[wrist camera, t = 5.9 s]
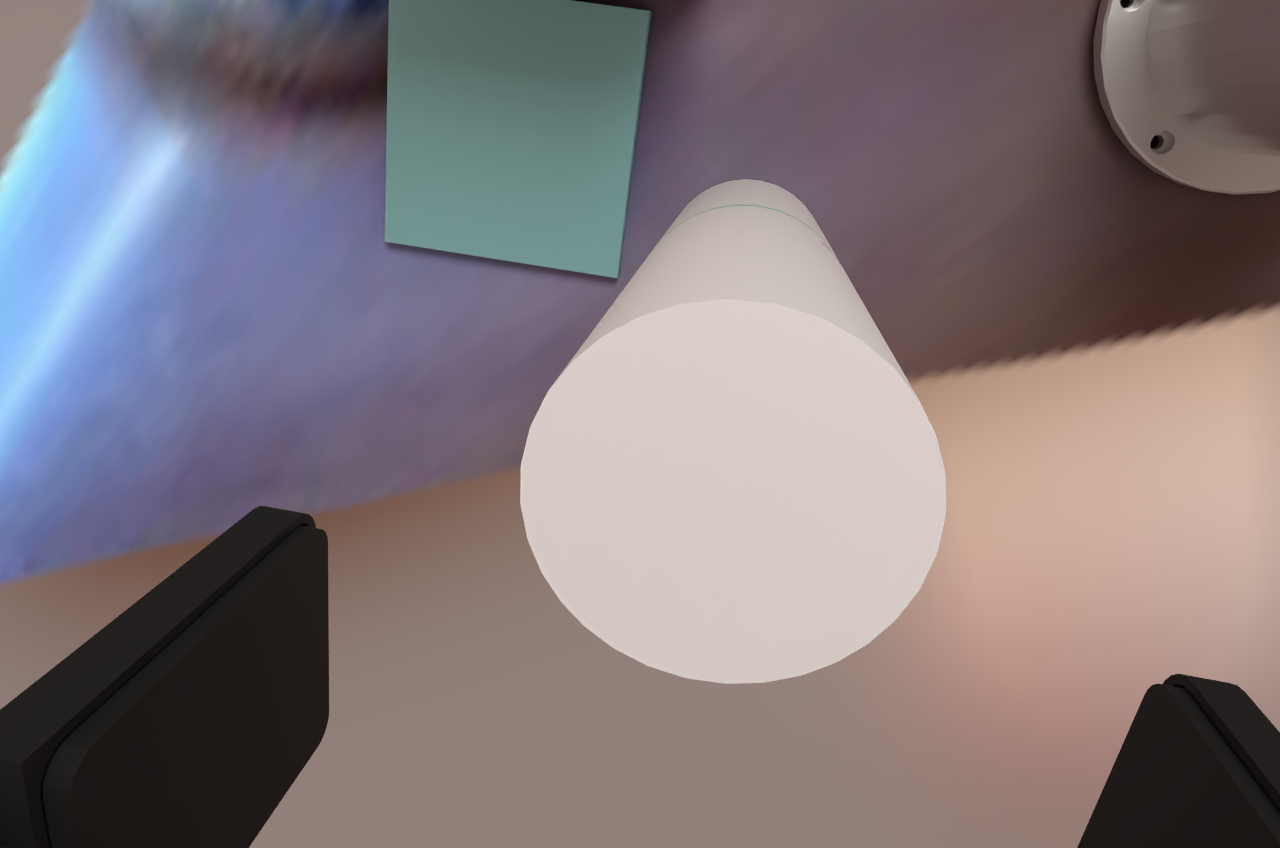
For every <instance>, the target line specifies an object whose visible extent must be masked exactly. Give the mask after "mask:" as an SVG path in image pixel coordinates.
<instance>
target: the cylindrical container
mask: <svg viewBox="0 0 1280 848" xmlns="http://www.w3.org/2000/svg"><path fill="white" fill-rule="evenodd" d="M520 488H521V489H520V505H521V510H522V514H523V519H524V524H525V529H526V534H527V539H528V542H529V544H530V547H531V549H532V551H533V554H534V556H535V558H536V561H537V563H538V565H539V567H540V570H541V572H542V574H543V576H544V577H545V579H546V580H547V581H548V583H549V585H550V586H551V588H552V589H553V591H554V592H555V594H556V595H557V597H558V598H559V600H560V601H561V602H562V603H563V604H564V605H565V607H566V608H567V609H568V610H569V611H570V612H571V613H572V614H573V615H574V616H575V617H576V618H577V619H578V620H579V621H580V622H581V623H582V625H583V626H585V627H586V628H587V629H589V630H590V631H591V632H592V633H594V634H595V635H597V636H598V637H599V638H600V639H602V640H603V641H604V642H606V643H607V644H608V645H610V646H611V647H612V648H614V649H616V650H618V651H619V652H621V653H623V654H625V655H627V656H629V657H631V658H633V659H635V660H637V661H639V662H641V663H643V664H645V665H647V666H649V667H653V668H655V669H659V670H662V671H665V672H668V673H671V674H674V675H677V676H680V677H684V678H688V679H695V680H703V681H711V682H717V683H724V684H733V683H765V682H771V681H776V680H780V679H786V678H791V677H796V676H800V675H804V674H807V673H810V672H812V671H815V670H818V669H820V668H823V667H826V666H828V665H831V664H834V663H836V662H838V661H840V660H841V659H843V658H845V657H847V656H848V655H850V654H851V653H853V652H855V651H857V650H859V649H860V648H862V647H864V646H865V645H867V644H868V643H870V642H871V641H872V640H873V639H874V638H875V637H877V636H878V635H879V634H880V633H881V632H882V631H884V630H885V629H886V628H887V627H888V626H890V625H891V624H892V623H893V622H894V621H895V620H896V619H897V618H898V617H899V615H900V614H901V613H902V611H903V610H904V609H905V608H906V607H907V605H908V604H909V603H910V602H911V600H912V599H913V598H914V596H915V595H916V594H917V593H918V591H919V590H920V588H921V586H922V584H923V582H924V580H925V578H926V576H927V574H928V572H929V570H930V568H931V565H932V564H933V561H934V559H935V557H936V555H937V553H938V548H939V544H940V539H941V535H942V531H943V526H944V522H945V517H946V473H945V469H944V465H943V461H942V457H941V453H940V449H939V444H938V441H937V437H936V434H935V432H934V430H933V427H932V425H931V423H930V422H929V420H928V417H927V415H926V413H925V411H924V409H923V407H922V405H921V403H920V401H919V399H918V397H917V396H916V394H915V392H914V391H913V389H912V387H911V385H910V384H909V382H908V380H907V378H906V377H905V375H904V373H903V371H902V370H901V368H900V366H899V365H898V363H897V361H896V359H895V358H894V356H893V354H892V352H891V351H890V349H889V347H888V345H887V344H886V342H885V340H884V339H883V337H882V335H881V333H880V332H879V330H878V328H877V326H876V325H875V323H874V321H873V319H872V318H871V316H870V314H869V313H868V311H867V309H866V307H865V306H864V304H863V302H862V300H861V299H860V297H859V295H858V293H857V292H856V290H855V288H854V287H853V285H852V283H851V281H850V280H849V278H848V276H847V274H846V273H845V271H844V269H843V268H842V266H841V264H840V262H839V261H838V259H837V257H836V255H835V254H834V252H833V250H832V248H831V247H830V245H829V243H828V242H827V240H826V238H825V236H824V235H823V233H822V231H821V229H820V228H819V226H818V224H817V222H816V221H815V219H814V217H813V216H812V214H811V213H810V212H809V210H808V209H807V208H806V206H805V205H804V204H803V203H802V202H801V201H800V200H799V199H797V198H796V197H795V196H794V195H793V194H792V193H790V192H788V191H786V190H784V189H783V188H781V187H779V186H777V185H774V184H771V183H768V182H764V181H761V180H748V179H741V180H734V181H727V182H724V183H721V184H718V185H715V186H712V187H711V188H709V189H707V190H705V191H704V192H702V193H700V194H699V195H698V196H696V197H695V198H694V199H693V200H692V201H690V202H689V203H688V204H687V205H686V207H685V208H684V209H683V210H682V212H681V213H680V214H679V215H678V217H677V218H676V219H675V221H674V222H673V223H672V225H671V226H670V227H669V229H668V230H667V231H666V233H665V234H664V235H663V237H662V238H661V239H660V241H659V242H658V243H657V245H656V246H655V247H654V249H653V250H652V251H651V253H650V254H649V255H648V257H647V258H646V260H645V261H644V262H643V264H642V265H641V266H640V268H639V269H638V270H637V272H636V273H635V274H634V276H633V277H632V278H631V280H630V281H629V283H628V284H627V285H626V287H625V288H624V289H623V291H622V292H621V293H620V295H619V296H618V297H617V299H616V300H615V301H614V303H613V304H612V306H611V307H610V308H609V310H608V311H607V312H606V314H605V315H604V316H603V318H602V319H601V320H600V322H599V323H598V324H597V326H596V327H595V329H594V330H593V331H592V333H591V334H590V335H589V337H588V338H587V339H586V341H585V342H584V343H583V345H582V346H581V347H580V349H579V350H578V352H577V353H576V354H575V356H574V357H573V358H572V360H571V361H570V362H569V364H568V365H567V366H566V368H565V369H564V370H563V372H562V373H561V375H560V376H559V377H558V379H557V380H556V381H555V383H554V384H553V385H552V387H551V388H550V389H549V391H548V392H547V394H546V396H545V398H544V400H543V402H542V404H541V406H540V408H539V410H538V412H537V414H536V416H535V418H534V420H533V422H532V424H531V426H530V430H529V434H528V438H527V442H526V446H525V450H524V454H523V458H522V462H521V486H520Z"/></svg>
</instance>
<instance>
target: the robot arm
mask: <svg viewBox="0 0 1280 848" xmlns="http://www.w3.org/2000/svg"><path fill="white" fill-rule="evenodd" d="M1093 52H1094V77H1095V81H1096V85H1097V90H1098V94H1099V99H1100V103H1101V106H1102V108H1103V110H1104V112H1105V114H1106V117H1107V119H1108V121H1109V123H1110V125H1111V127H1112V129H1113V131H1114V133H1115V134H1116V135H1117V136H1118V138H1119V139H1120V140H1121V142H1122V143H1123V144H1124V145H1125V147H1126V148H1127V149H1128V151H1129V152H1130V153H1131V154H1132V155H1133V156H1135V157H1136V158H1137V159H1138V160H1140V161H1141V162H1142V163H1143V164H1144V165H1146V166H1147V167H1148V168H1149V169H1151V170H1152V171H1153V172H1155V173H1157V174H1159V175H1161V176H1164V177H1166V178H1168V179H1170V180H1172V181H1174V182H1176V183H1178V184H1181V185H1185V186H1189V187H1193V188H1197V189H1201V190H1205V191H1210V192H1219V193H1227V194H1234V195H1237V194H1259V193H1271V192H1275V191H1280V0H1129V4H1128V5H1127V7H1125V8H1123V7H1122V6H1121V5H1120V0H1101V3H1100V6H1099V10H1098V16H1097V22H1096V28H1095V34H1094V40H1093ZM1154 136H1157V137H1158V144H1157V146H1156V147H1154V148H1153V149H1152V148H1150V145H1151V140H1152V138H1153V137H1154ZM328 644H329V642H328V540H327V535H326V532H325V531H324V530H322V529H317V528H316V527H315V523H314V520H313V518H312V517H311V516H310V515H309V514H304V513H299V512H294V511H288V510H283V509H277V508H272V507H266V506H259V507H257V508H255V509H253V510H252V511H251V512H249V513H248V514H247V515H246V516H244V517H243V518H242V519H241V520H239V521H238V522H237V523H236V524H234V525H233V526H232V527H230V528H229V529H228V530H227V531H225V532H224V533H223V534H222V535H220V536H219V537H218V538H217V539H215V540H214V541H213V542H212V543H210V544H209V545H208V546H207V547H205V548H204V549H203V550H201V551H200V552H199V553H198V554H196V555H195V556H194V557H193V558H191V559H190V560H189V561H188V562H186V563H185V564H184V565H183V566H181V567H180V568H179V569H177V570H176V571H175V572H174V573H173V574H171V575H170V576H169V577H167V578H166V579H165V580H164V581H163V582H161V583H160V584H159V585H157V586H156V587H155V588H154V589H152V590H151V591H150V592H148V593H147V594H146V595H145V596H143V597H142V598H141V599H140V600H138V601H137V602H136V603H135V604H133V605H132V606H131V607H130V608H128V609H127V610H126V611H124V612H123V613H122V614H121V615H119V616H118V617H117V618H116V619H114V620H113V621H112V622H111V623H109V624H108V625H107V626H106V627H104V628H103V629H102V630H100V631H99V632H98V633H97V634H95V635H94V636H93V637H92V638H91V639H89V640H88V641H87V642H85V643H84V644H83V645H82V646H80V647H79V648H78V649H77V650H75V651H74V652H73V653H71V654H70V655H69V656H68V657H66V658H65V659H64V660H63V661H61V662H60V663H59V664H58V665H56V666H55V667H54V668H53V669H51V670H50V671H49V672H47V673H46V674H45V675H44V676H42V677H41V678H40V679H39V680H38V681H36V682H35V683H34V684H32V685H31V686H30V687H29V688H27V689H26V690H25V691H24V692H22V693H21V694H20V695H18V696H17V697H16V698H15V699H13V700H12V701H11V702H10V703H8V704H7V705H6V706H5V707H3V708H2V709H1V710H0V848H249V846H250V845H251V843H252V842H253V840H254V839H255V837H256V836H257V835H258V833H259V832H260V830H261V829H262V827H263V826H264V824H265V823H266V821H267V820H268V819H269V817H270V816H271V814H272V813H273V811H274V810H275V808H276V807H277V805H278V804H279V802H280V801H281V800H282V798H283V797H284V795H285V794H286V792H287V791H288V789H289V788H290V786H291V785H292V784H293V782H294V781H295V779H296V778H297V776H298V775H299V773H300V772H301V770H302V769H303V768H304V766H305V765H306V763H307V762H308V760H309V759H310V757H311V756H312V754H313V753H314V751H315V750H316V748H317V747H318V745H319V744H320V742H321V740H322V738H323V735H324V733H325V730H326V726H327V722H328V717H329V654H328V653H329V649H328V646H329V645H328ZM1078 848H1280V732H1279V731H1278V730H1277V729H1276V728H1275V727H1274V725H1273V724H1272V723H1271V722H1270V721H1269V720H1268V718H1267V717H1266V716H1265V715H1264V714H1263V713H1262V711H1261V710H1260V709H1259V708H1258V707H1257V706H1256V704H1255V703H1254V702H1253V701H1252V700H1251V699H1250V697H1249V696H1248V695H1247V694H1246V693H1245V692H1244V691H1243V690H1242V689H1241V688H1240V687H1238V686H1237V685H1233V684H1230V683H1226V682H1220V681H1215V680H1209V679H1203V678H1198V677H1193V676H1187V675H1182V674H1175V675H1171V676H1170V677H1169V678H1168V679H1166V680H1165V681H1164V683H1163V684H1155V685H1152V686H1151V687H1150V688H1149V689H1148V690H1147V692H1146V694H1145V695H1144V698H1143V700H1142V702H1141V705H1140V707H1139V709H1138V711H1137V713H1136V716H1135V718H1134V720H1133V723H1132V725H1131V727H1130V729H1129V732H1128V734H1127V736H1126V739H1125V741H1124V743H1123V745H1122V748H1121V750H1120V752H1119V754H1118V757H1117V759H1116V761H1115V763H1114V766H1113V768H1112V770H1111V773H1110V775H1109V777H1108V780H1107V782H1106V784H1105V786H1104V788H1103V791H1102V793H1101V795H1100V798H1099V800H1098V802H1097V804H1096V807H1095V809H1094V811H1093V814H1092V816H1091V818H1090V820H1089V823H1088V825H1087V827H1086V829H1085V832H1084V834H1083V836H1082V838H1081V841H1080V843H1079V845H1078Z"/></svg>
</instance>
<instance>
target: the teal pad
mask: <svg viewBox="0 0 1280 848" xmlns="http://www.w3.org/2000/svg"><path fill="white" fill-rule="evenodd" d="M650 21H651V12H650V11H647V10H640V9H632V8H625V7H617V6H610V5H602V4H595V3H587V2H580V1H572V0H389V22H388V79H387V137H386V194H385V242H391V243H397V244H403V245H410V246H416V247H422V248H429V249H435V250H441V251H448V252H454V253H460V254H467V255H473V256H479V257H486V258H492V259H498V260H505V261H511V262H518V263H524V264H530V265H537V266H543V267H549V268H556V269H562V270H568V271H575V272H581V273H587V274H594V275H600V276H606V277H613V278H618V277H619V274H620V266H621V257H622V249H623V241H624V233H625V225H626V217H627V209H628V200H629V192H630V184H631V176H632V168H633V160H634V151H635V143H636V135H637V127H638V119H639V111H640V102H641V94H642V86H643V78H644V70H645V62H646V54H647V45H648V37H649V29H650Z"/></svg>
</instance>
